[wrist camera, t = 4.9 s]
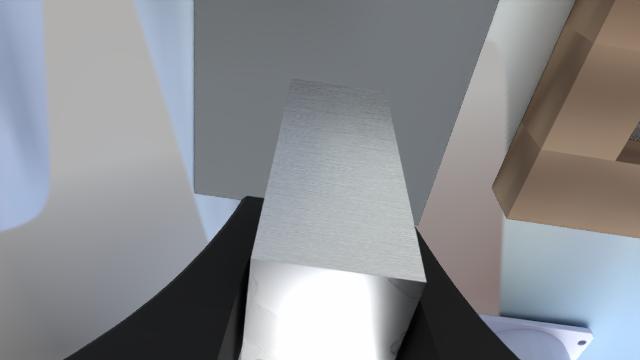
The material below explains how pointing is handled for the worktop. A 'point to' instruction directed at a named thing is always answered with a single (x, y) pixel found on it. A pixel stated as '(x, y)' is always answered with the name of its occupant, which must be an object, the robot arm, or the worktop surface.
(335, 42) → the mat
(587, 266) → the worktop surface
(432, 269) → the robot arm
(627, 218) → the block
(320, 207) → the steel peg
